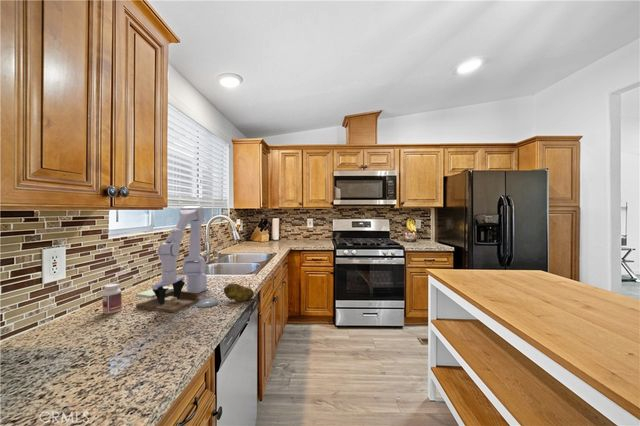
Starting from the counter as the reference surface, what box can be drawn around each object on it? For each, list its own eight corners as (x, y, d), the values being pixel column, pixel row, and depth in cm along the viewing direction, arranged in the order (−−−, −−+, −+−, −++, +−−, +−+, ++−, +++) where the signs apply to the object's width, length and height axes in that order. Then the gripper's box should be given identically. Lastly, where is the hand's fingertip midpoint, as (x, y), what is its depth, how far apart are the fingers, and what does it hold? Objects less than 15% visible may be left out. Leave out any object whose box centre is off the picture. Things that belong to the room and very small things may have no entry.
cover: (161, 288, 126) (161, 283, 126) (176, 290, 123) (175, 285, 123) (136, 296, 114) (136, 291, 114) (151, 298, 111) (151, 293, 111)
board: (164, 296, 127) (164, 287, 127) (199, 301, 120) (198, 292, 120) (136, 307, 113) (136, 297, 113) (173, 312, 107) (173, 302, 107)
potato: (250, 303, 117) (250, 285, 117) (221, 304, 116) (221, 286, 116) (254, 297, 125) (254, 280, 125) (227, 297, 125) (227, 281, 124)
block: (170, 305, 116) (170, 296, 116) (177, 306, 114) (177, 297, 114) (162, 308, 112) (162, 299, 112) (169, 309, 111) (169, 300, 111)
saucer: (206, 299, 122) (206, 297, 122) (222, 301, 119) (222, 299, 119) (191, 306, 114) (191, 304, 114) (208, 308, 111) (208, 306, 111)
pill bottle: (124, 307, 113) (123, 282, 113) (118, 313, 107) (117, 286, 107) (107, 309, 111) (106, 283, 111) (99, 315, 105) (99, 288, 105)
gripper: (176, 266, 121) (176, 295, 121) (146, 273, 107) (146, 306, 107) (187, 267, 119) (188, 296, 119) (159, 274, 105) (159, 308, 105)
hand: (169, 301), depth 113 cm, fingers open, 7 cm apart
